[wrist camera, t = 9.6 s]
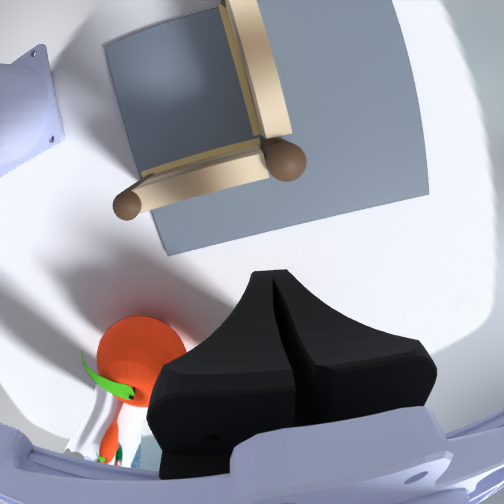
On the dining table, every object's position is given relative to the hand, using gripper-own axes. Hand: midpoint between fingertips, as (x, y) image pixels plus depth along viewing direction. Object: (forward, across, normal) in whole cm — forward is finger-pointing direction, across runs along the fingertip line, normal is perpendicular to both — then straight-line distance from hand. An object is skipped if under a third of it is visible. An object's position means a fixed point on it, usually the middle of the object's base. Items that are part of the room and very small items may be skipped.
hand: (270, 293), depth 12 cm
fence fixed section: (+9, +3, -4) cm, 10 cm away
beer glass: (+10, +14, +17) cm, 24 cm away
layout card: (+9, -2, -7) cm, 12 cm away
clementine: (+10, +10, +9) cm, 16 cm away
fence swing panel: (+9, 0, -10) cm, 13 cm away
